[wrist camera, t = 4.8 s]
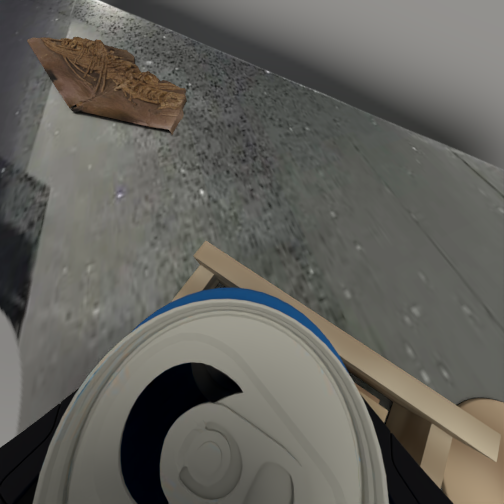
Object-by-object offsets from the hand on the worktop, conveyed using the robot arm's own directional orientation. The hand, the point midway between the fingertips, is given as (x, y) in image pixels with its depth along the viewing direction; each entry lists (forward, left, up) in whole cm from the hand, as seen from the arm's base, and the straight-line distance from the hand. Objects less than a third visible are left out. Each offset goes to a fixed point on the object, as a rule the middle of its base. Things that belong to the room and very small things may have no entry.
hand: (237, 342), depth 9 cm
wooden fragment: (+14, +31, -7) cm, 34 cm away
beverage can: (-1, -1, -7) cm, 7 cm away
